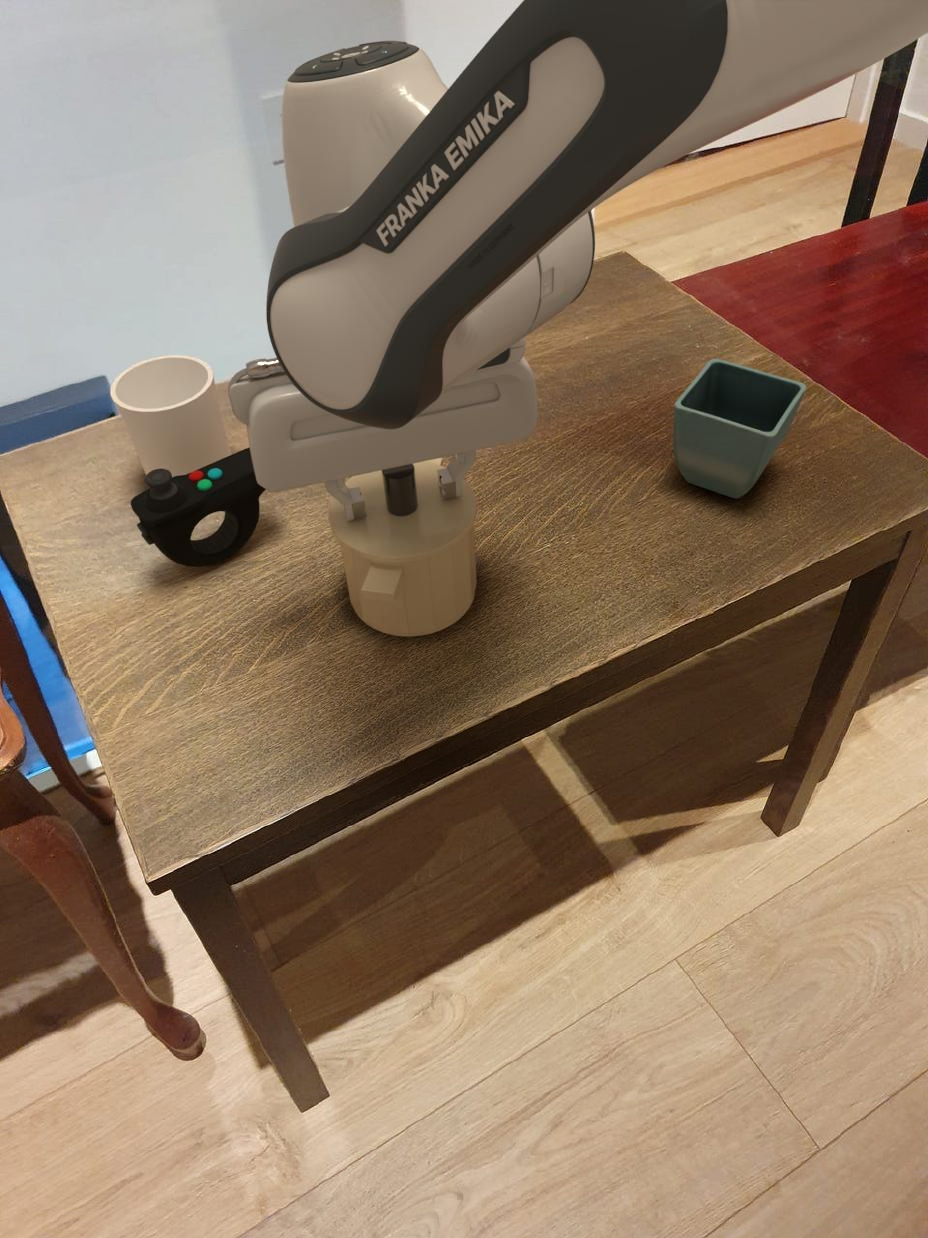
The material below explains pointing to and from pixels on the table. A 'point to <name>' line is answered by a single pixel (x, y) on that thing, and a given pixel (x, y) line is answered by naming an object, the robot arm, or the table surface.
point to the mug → (172, 413)
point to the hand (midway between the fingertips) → (403, 503)
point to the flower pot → (732, 425)
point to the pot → (413, 588)
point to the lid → (404, 515)
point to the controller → (200, 510)
